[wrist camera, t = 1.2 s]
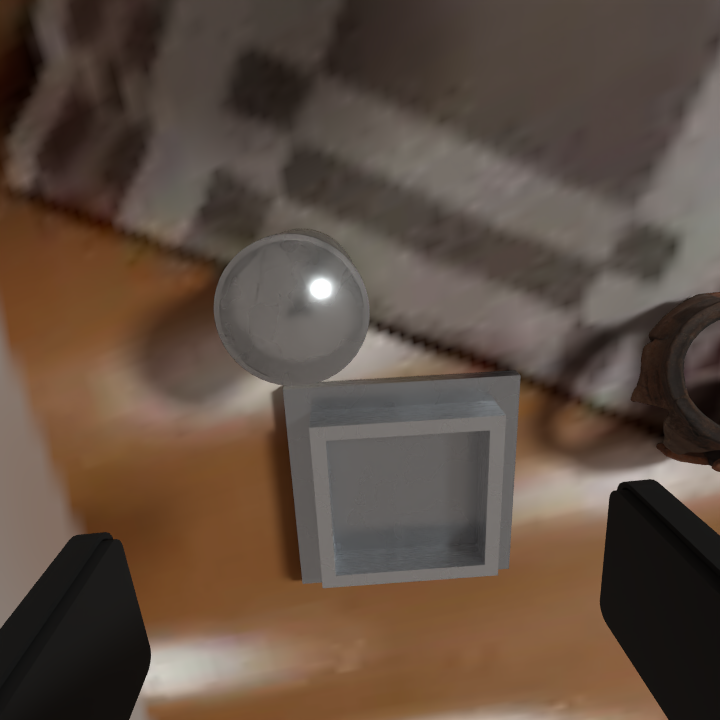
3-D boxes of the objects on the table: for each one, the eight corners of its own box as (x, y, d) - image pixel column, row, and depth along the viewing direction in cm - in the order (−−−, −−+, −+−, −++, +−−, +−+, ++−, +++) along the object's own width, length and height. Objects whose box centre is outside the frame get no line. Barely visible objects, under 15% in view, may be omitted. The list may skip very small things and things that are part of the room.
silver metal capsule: (238, 227, 25) (203, 238, 18) (357, 221, 25) (366, 230, 18) (252, 342, 27) (224, 390, 20) (363, 336, 27) (372, 381, 20)
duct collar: (284, 384, 27) (279, 404, 25) (515, 370, 28) (534, 388, 25) (303, 574, 31) (300, 609, 29) (504, 559, 32) (520, 592, 29)
